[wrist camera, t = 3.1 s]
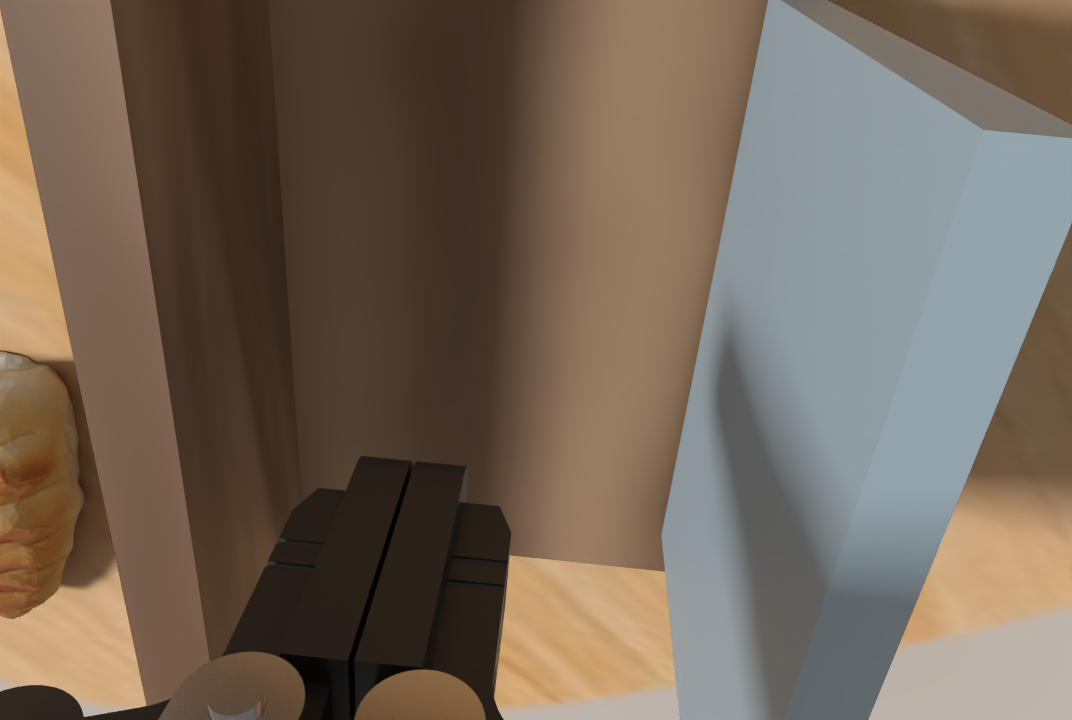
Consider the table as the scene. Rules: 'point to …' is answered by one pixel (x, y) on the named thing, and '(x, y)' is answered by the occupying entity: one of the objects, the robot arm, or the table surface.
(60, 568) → the pastry
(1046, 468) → the table surface
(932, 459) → the light blue flat panel
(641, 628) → the table surface
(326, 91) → the brown wooden l-shaped piece
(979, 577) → the table surface
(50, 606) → the table surface
